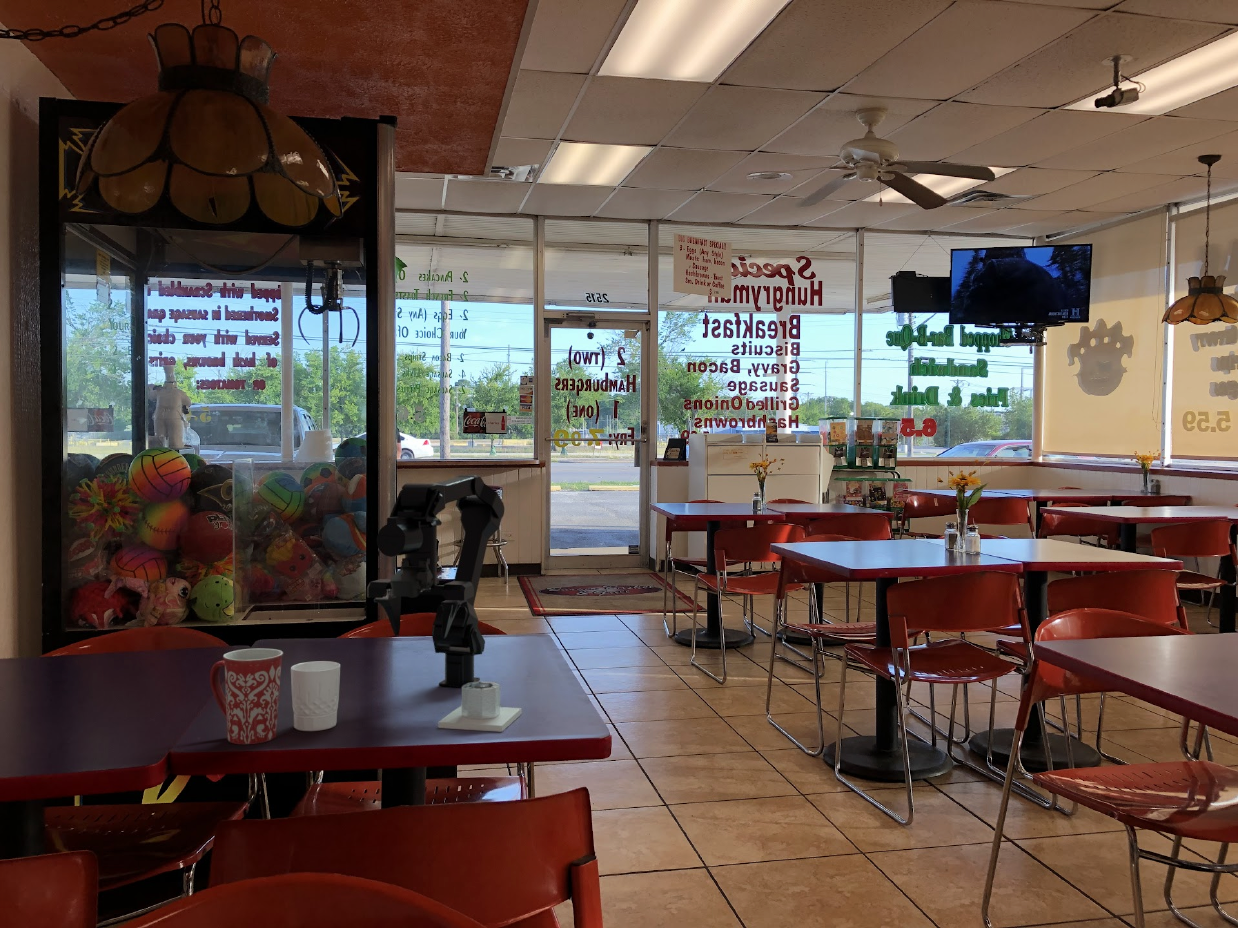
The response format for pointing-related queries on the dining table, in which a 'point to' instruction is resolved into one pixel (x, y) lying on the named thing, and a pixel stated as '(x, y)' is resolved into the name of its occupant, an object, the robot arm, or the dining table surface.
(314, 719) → the white cup
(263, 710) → the mug
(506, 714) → the post fixture
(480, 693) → the grey hollow octagonal cylinder
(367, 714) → the dining table surface
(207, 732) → the dining table surface
